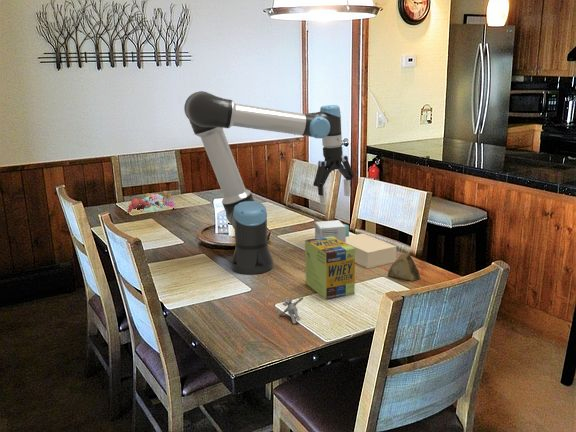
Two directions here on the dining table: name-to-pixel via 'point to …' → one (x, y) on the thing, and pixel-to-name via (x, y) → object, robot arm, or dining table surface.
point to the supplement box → (330, 230)
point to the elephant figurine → (291, 309)
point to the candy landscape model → (152, 202)
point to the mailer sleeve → (371, 250)
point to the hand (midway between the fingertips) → (335, 199)
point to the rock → (404, 268)
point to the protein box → (330, 267)
